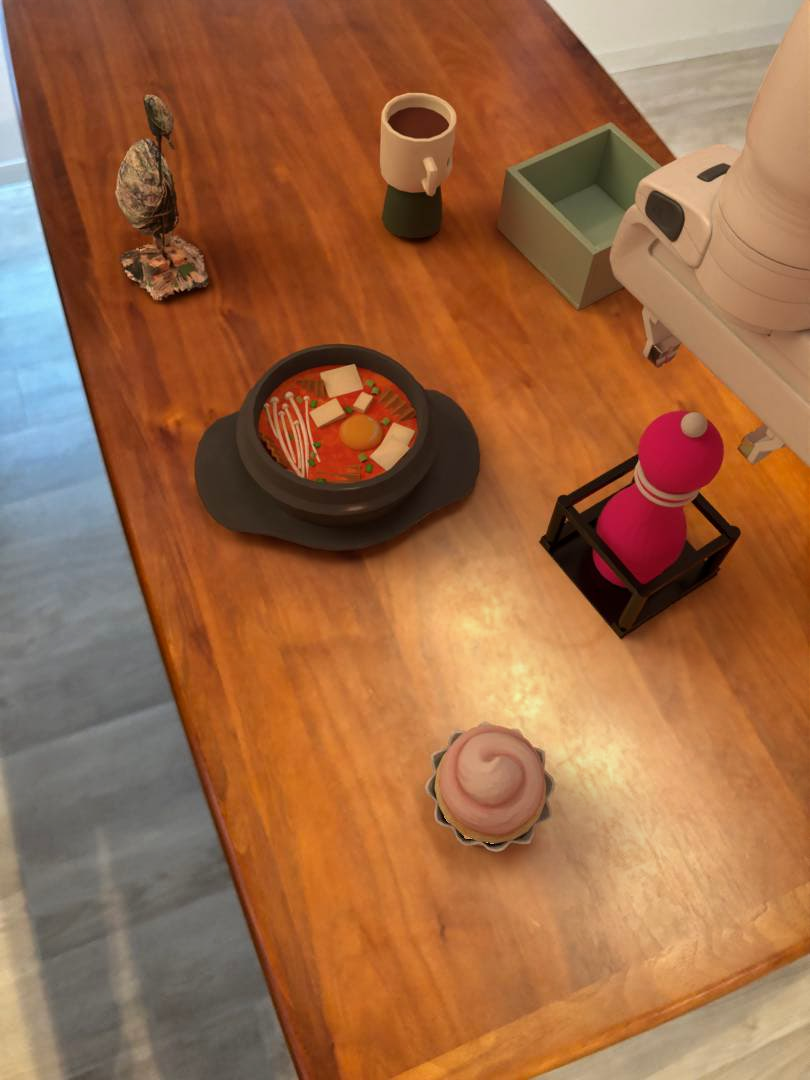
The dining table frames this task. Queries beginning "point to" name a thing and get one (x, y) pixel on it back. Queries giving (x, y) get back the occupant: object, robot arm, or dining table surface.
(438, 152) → the character mug
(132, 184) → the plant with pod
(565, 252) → the open square box
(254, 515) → the casserole
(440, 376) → the dining table surface
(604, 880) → the dining table surface
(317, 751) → the dining table surface
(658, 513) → the pepper mill
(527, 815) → the cupcake
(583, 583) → the black open frame holder
